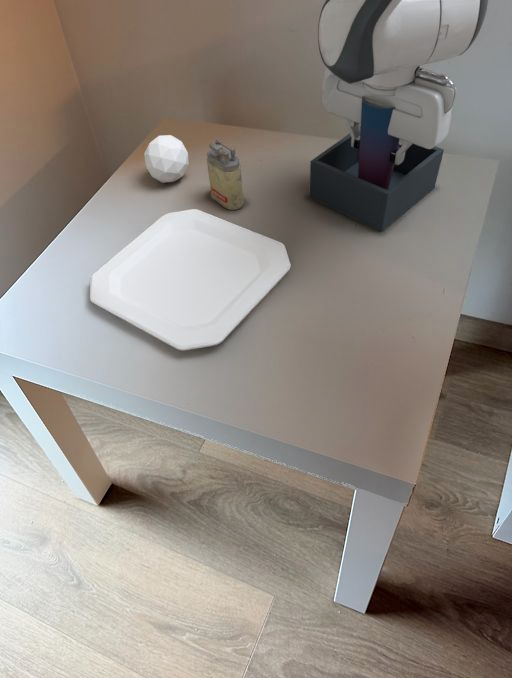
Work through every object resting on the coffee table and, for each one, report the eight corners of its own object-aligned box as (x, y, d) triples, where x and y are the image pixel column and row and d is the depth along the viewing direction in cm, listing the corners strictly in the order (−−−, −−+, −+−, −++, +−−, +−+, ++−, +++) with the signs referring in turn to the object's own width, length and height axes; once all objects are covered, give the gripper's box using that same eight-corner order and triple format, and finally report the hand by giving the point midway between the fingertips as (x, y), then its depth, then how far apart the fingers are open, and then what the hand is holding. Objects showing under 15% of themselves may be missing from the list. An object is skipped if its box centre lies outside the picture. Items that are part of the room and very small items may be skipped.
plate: (76, 300, 81) (71, 289, 79) (180, 211, 92) (178, 200, 90) (203, 370, 71) (201, 360, 69) (304, 262, 81) (305, 250, 80)
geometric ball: (162, 195, 100) (128, 166, 95) (181, 159, 101) (148, 129, 96) (185, 189, 94) (150, 158, 89) (204, 151, 95) (171, 119, 90)
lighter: (207, 195, 94) (199, 140, 86) (224, 186, 95) (218, 131, 87) (232, 213, 90) (226, 158, 82) (249, 203, 91) (245, 148, 83)
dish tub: (434, 187, 89) (444, 149, 84) (381, 232, 84) (388, 194, 78) (362, 158, 96) (366, 121, 90) (309, 197, 91) (310, 160, 85)
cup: (398, 180, 90) (416, 87, 78) (388, 204, 86) (404, 110, 74) (358, 173, 92) (369, 82, 80) (346, 196, 89) (356, 104, 76)
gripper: (472, 69, 69) (447, 167, 80) (344, 34, 79) (337, 125, 90) (445, 89, 67) (423, 187, 78) (316, 50, 77) (313, 142, 88)
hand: (376, 154), depth 84 cm, fingers closed on cup, 6 cm apart
